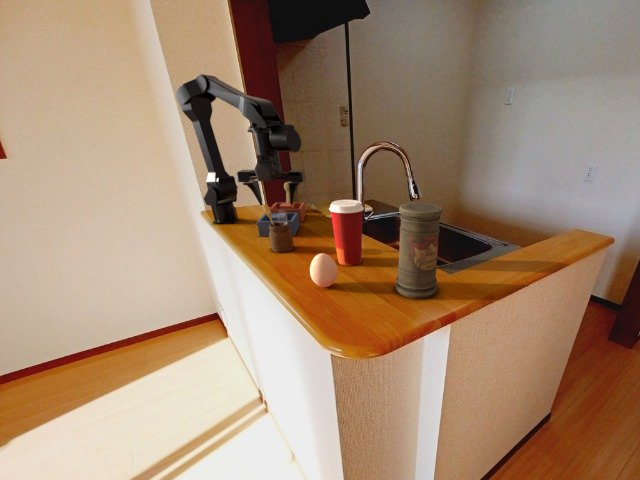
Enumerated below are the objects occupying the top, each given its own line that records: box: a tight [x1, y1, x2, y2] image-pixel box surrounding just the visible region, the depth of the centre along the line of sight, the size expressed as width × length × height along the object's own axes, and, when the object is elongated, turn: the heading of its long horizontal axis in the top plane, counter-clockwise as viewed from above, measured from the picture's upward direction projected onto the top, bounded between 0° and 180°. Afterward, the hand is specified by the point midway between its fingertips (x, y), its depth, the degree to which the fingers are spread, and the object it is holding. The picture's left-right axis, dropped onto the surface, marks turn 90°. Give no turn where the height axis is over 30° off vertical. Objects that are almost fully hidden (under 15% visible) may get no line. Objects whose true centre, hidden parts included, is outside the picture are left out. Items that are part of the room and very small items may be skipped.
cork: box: [283, 181, 301, 203], centre depth 124 cm, size 6×6×11 cm
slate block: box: [270, 214, 288, 221], centre depth 103 cm, size 4×4×4 cm
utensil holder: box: [263, 204, 294, 253], centre depth 87 cm, size 6×6×12 cm
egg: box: [309, 252, 338, 288], centre depth 69 cm, size 6×6×8 cm
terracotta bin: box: [269, 201, 307, 223], centre depth 116 cm, size 11×11×5 cm
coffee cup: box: [328, 199, 365, 267], centre depth 79 cm, size 8×8×15 cm
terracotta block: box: [280, 202, 295, 209], centre depth 115 cm, size 4×4×4 cm
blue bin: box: [256, 212, 301, 237], centre depth 103 cm, size 11×11×5 cm
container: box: [394, 202, 443, 299], centre depth 66 cm, size 9×9×18 cm
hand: (276, 205), depth 100 cm, fingers open, 9 cm apart
